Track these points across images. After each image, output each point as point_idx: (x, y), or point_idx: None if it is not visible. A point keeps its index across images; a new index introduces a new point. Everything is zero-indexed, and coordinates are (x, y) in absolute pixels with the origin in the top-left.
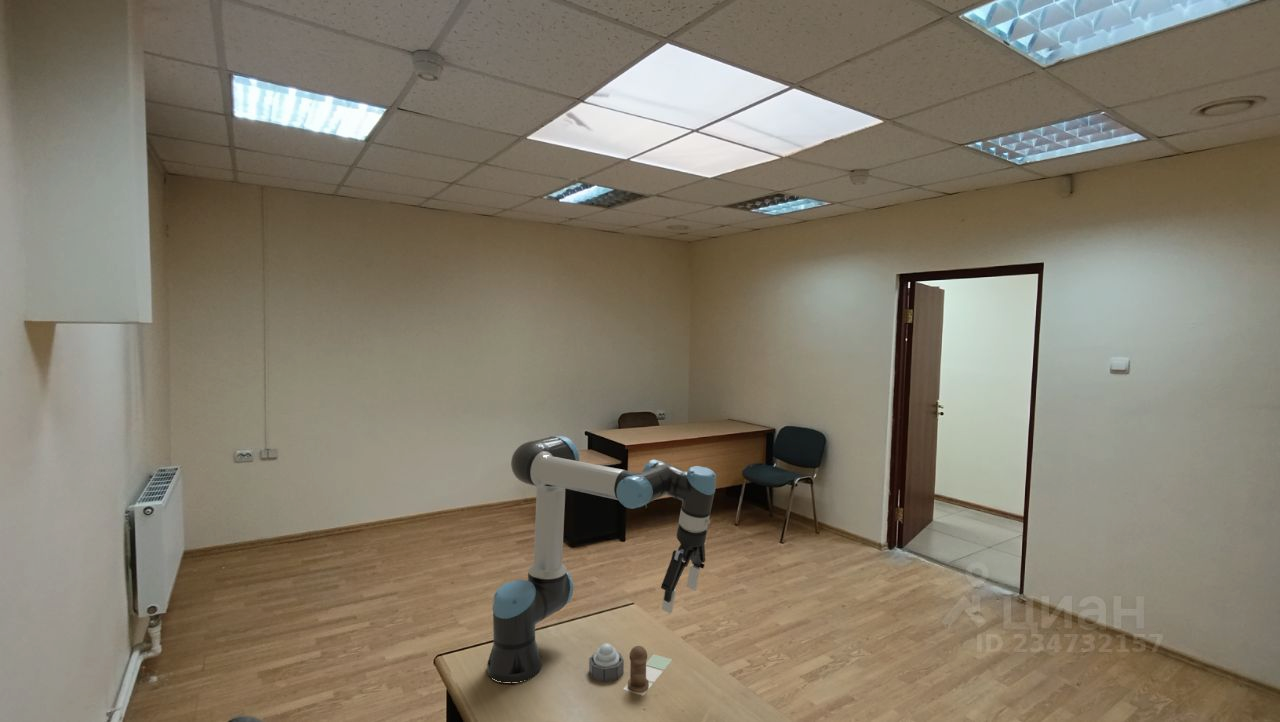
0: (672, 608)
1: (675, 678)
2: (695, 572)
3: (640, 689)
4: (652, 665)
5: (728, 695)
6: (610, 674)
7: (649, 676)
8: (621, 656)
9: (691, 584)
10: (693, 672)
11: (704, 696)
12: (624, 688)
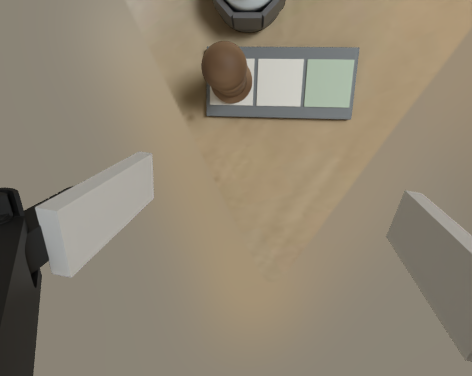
0: (141, 207)
1: (298, 134)
2: (452, 305)
3: (215, 94)
4: (311, 76)
5: (286, 234)
6: (222, 12)
7: (270, 88)
8: (275, 4)
9: (405, 229)
10: (331, 158)
11: (267, 199)
12: None
